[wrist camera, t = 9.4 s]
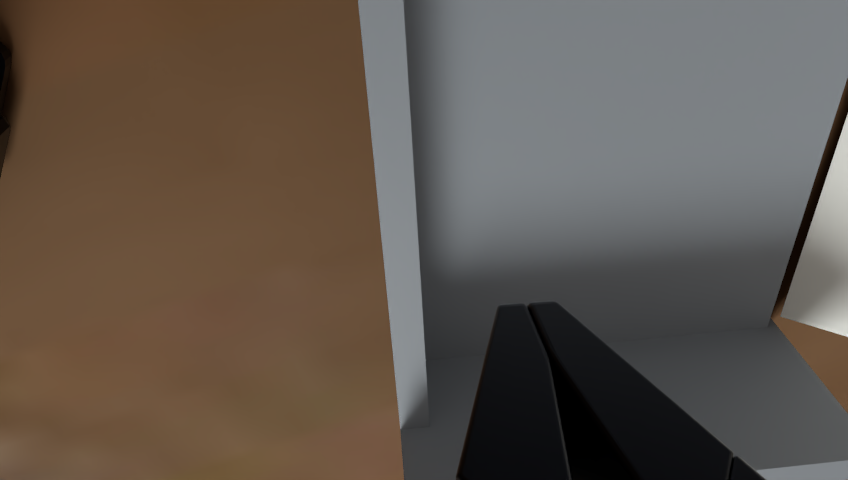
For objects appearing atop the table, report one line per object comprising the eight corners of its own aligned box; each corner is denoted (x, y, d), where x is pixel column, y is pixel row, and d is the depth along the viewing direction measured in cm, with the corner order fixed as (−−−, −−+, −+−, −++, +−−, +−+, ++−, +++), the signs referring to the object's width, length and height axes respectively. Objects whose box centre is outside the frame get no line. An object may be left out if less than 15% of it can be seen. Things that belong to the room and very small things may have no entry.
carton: (396, 367, 26) (408, 527, 21) (303, -589, 12) (260, -925, 7) (760, 331, 27) (871, 476, 21) (1057, -609, 13) (1608, -928, 7)
